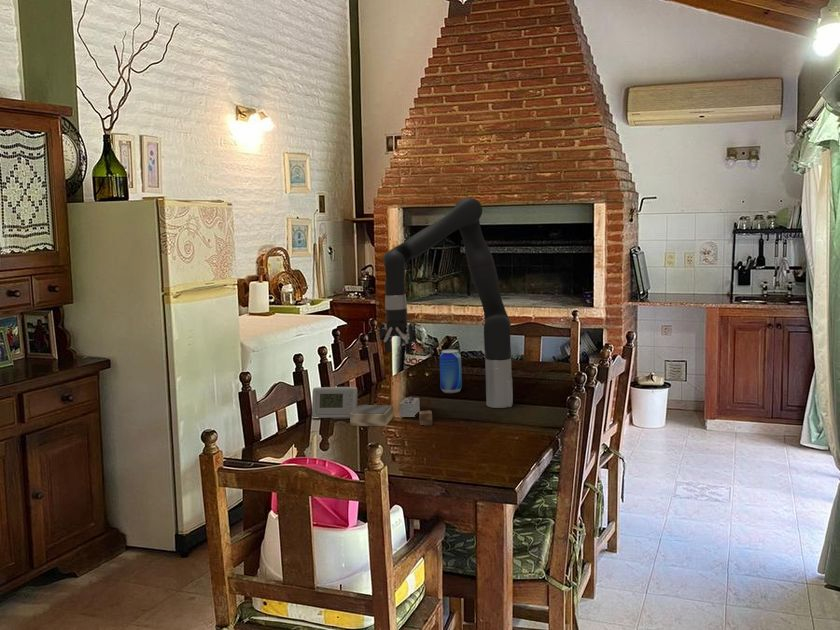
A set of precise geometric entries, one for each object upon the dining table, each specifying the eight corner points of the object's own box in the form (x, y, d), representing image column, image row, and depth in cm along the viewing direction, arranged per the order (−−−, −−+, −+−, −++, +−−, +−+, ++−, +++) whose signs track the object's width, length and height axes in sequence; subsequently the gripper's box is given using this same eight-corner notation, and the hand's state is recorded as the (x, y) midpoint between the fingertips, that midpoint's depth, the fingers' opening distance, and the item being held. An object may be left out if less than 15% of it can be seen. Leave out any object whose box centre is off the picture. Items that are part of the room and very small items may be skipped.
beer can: (437, 392, 303) (436, 352, 301) (445, 388, 311) (443, 348, 309) (457, 394, 300) (456, 353, 298) (464, 389, 308) (463, 349, 306)
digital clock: (309, 419, 270) (307, 389, 269) (320, 413, 279) (318, 384, 277) (352, 422, 265) (350, 391, 264) (362, 415, 274) (361, 385, 272)
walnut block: (431, 422, 261) (431, 410, 261) (432, 425, 257) (431, 413, 257) (419, 422, 261) (419, 411, 260) (420, 425, 257) (419, 414, 257)
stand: (393, 416, 269) (393, 405, 269) (385, 426, 258) (384, 413, 257) (360, 416, 272) (359, 404, 271) (350, 425, 260) (349, 413, 260)
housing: (419, 411, 276) (419, 396, 276) (414, 418, 268) (413, 402, 267) (406, 411, 277) (405, 396, 277) (399, 417, 269) (399, 402, 268)
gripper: (418, 306, 272) (421, 352, 274) (385, 305, 280) (388, 350, 282) (406, 309, 265) (409, 356, 268) (373, 308, 273) (376, 353, 275)
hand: (398, 353), depth 275 cm, fingers open, 8 cm apart
